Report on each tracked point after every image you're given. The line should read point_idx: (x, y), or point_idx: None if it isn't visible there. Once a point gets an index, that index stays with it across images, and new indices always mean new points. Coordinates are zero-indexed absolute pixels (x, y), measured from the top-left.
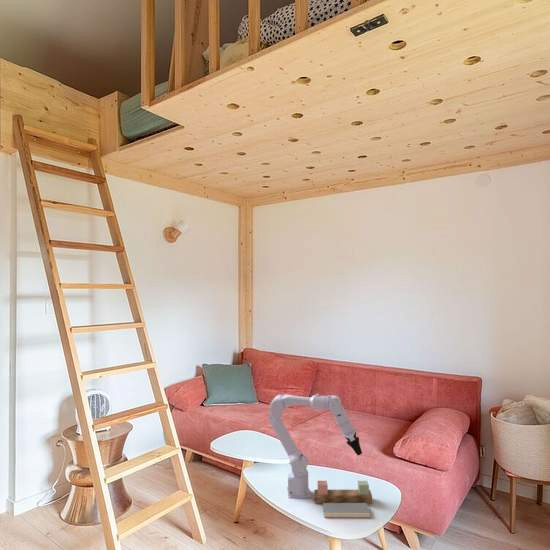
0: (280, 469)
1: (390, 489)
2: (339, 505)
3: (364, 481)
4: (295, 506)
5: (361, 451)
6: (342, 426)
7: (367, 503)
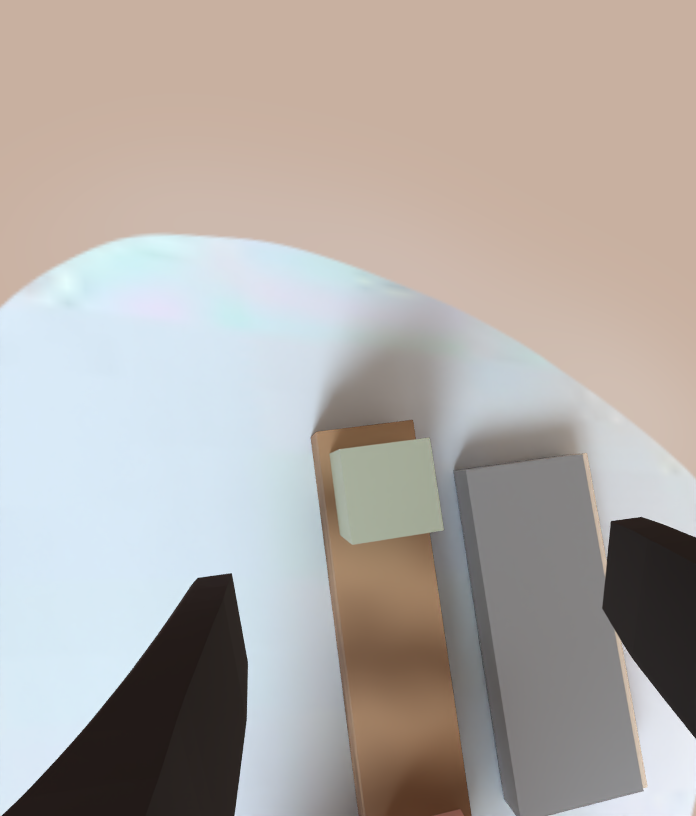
0: None
1: (143, 266)
2: (534, 678)
3: (358, 475)
4: None
5: (685, 536)
6: None
7: None
